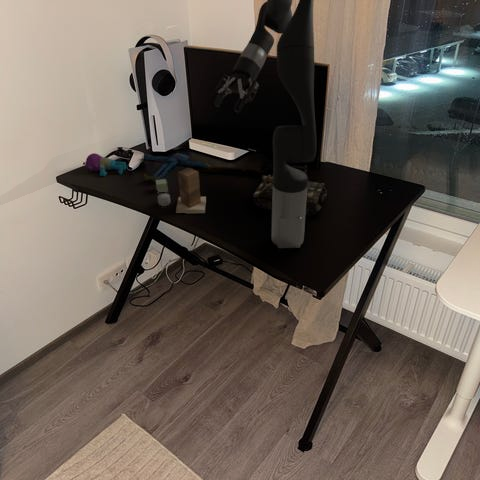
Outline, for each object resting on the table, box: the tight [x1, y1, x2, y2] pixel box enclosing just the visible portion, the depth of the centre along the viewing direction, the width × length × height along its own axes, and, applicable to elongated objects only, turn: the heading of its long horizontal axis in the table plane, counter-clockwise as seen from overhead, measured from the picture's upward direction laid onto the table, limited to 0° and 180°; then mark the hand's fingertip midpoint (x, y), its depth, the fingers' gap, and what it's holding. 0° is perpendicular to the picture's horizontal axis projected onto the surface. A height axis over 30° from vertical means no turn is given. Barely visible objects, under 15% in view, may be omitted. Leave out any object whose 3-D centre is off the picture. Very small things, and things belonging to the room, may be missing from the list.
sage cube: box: [155, 178, 169, 194], centre depth 157 cm, size 4×4×4 cm
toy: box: [82, 152, 127, 177], centre depth 171 cm, size 12×7×15 cm
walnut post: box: [177, 167, 201, 208], centre depth 144 cm, size 4×4×11 cm
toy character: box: [142, 152, 211, 183], centre depth 171 cm, size 30×4×25 cm
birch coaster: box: [175, 196, 207, 214], centre depth 147 cm, size 9×9×1 cm
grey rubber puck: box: [157, 193, 172, 206], centre depth 149 cm, size 4×4×3 cm
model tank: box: [252, 165, 328, 216], centre depth 145 cm, size 13×22×15 cm, turn 70°
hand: (225, 108), depth 141 cm, fingers open, 8 cm apart
